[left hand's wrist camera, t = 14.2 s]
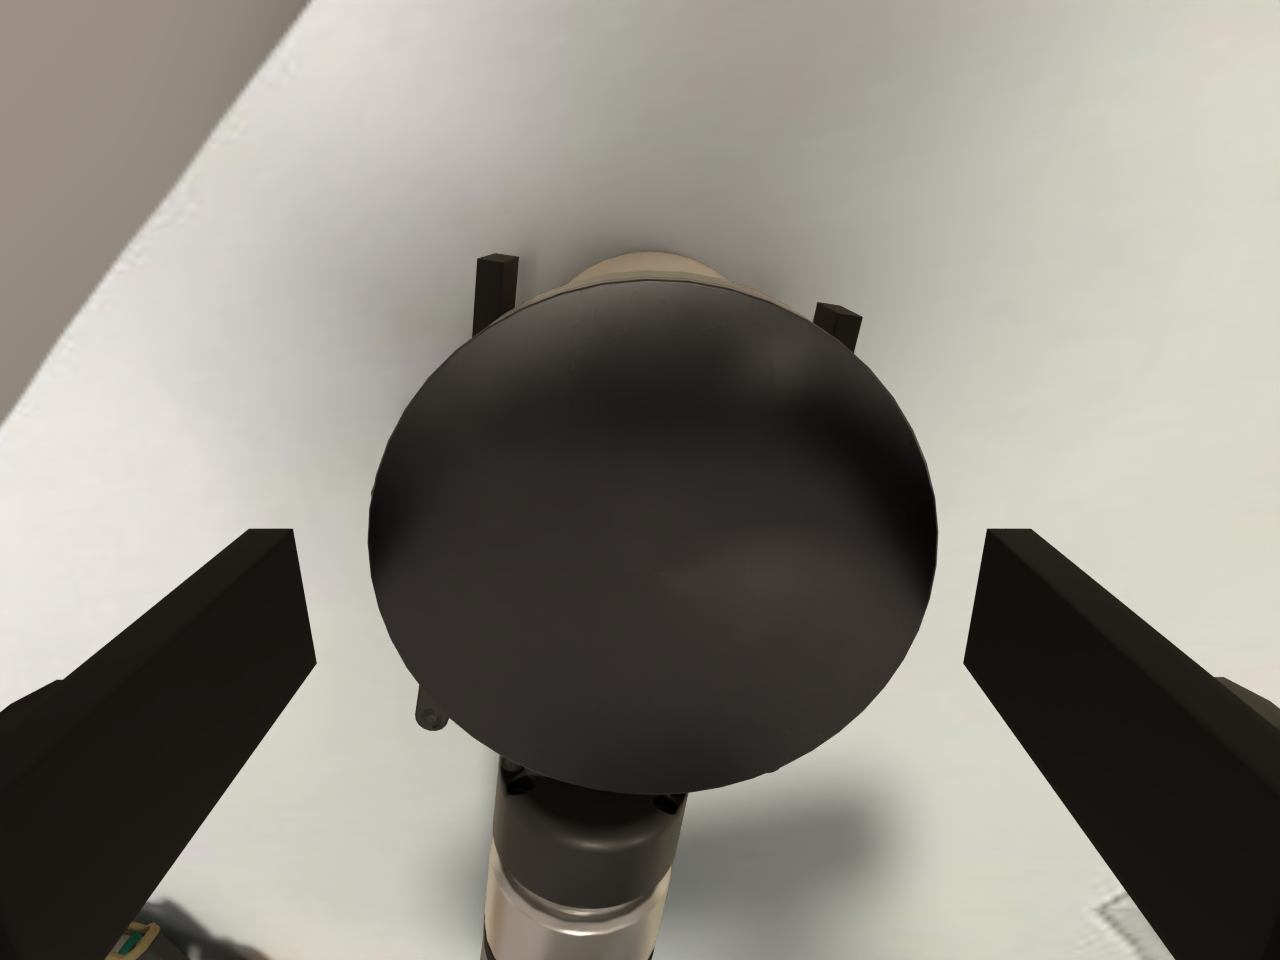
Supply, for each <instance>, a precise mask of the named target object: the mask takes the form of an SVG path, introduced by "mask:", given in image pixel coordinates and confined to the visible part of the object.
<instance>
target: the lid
mask: <svg viewBox="0 0 1280 960" xmlns="http://www.w3.org/2000/svg"><path fill="white" fill-rule="evenodd" d="M937 545H938V524H937V513H936V502H935V495H934V491H933V487H932V483H931V479H930V475H929V471H928V467H927V463H926V460H925V458H924V455H923V453H922V451H921V448H920V446H919V443H918V441H917V438H916V436H915V434H914V431H913V429H912V427H911V426H910V424H909V422H908V421H907V419H906V417H905V416H904V414H903V412H902V411H901V409H900V407H899V406H898V404H897V402H896V401H895V399H894V397H893V396H892V395H891V394H890V392H889V391H888V390H887V389H886V388H885V386H884V385H883V384H882V383H881V382H880V380H879V379H878V378H877V377H876V375H875V374H874V373H873V372H872V371H871V369H870V368H869V367H868V366H867V365H866V364H864V363H863V362H862V361H861V360H860V359H859V358H858V357H857V356H856V355H855V354H853V353H852V352H851V351H850V350H849V349H848V348H847V347H846V346H845V345H843V344H842V343H841V342H840V341H839V340H837V339H836V338H834V337H833V336H831V335H830V334H828V333H827V332H826V331H824V330H823V329H821V328H820V327H818V326H817V325H815V324H814V323H812V322H811V321H809V320H808V319H806V318H805V317H803V316H802V315H800V314H799V313H798V312H796V311H795V310H793V309H792V308H790V307H789V306H787V305H785V304H783V303H781V302H779V301H777V300H775V299H773V298H771V297H769V296H767V295H765V294H762V293H760V292H758V291H756V290H754V289H751V288H748V287H745V286H742V285H739V284H736V283H733V282H730V281H727V280H723V279H720V278H715V277H710V276H704V275H699V274H693V273H688V272H680V271H656V270H641V271H630V272H619V273H609V274H604V275H600V276H596V277H591V278H587V279H583V280H579V281H574V282H571V283H568V284H566V285H563V286H560V287H558V288H555V289H553V290H550V291H547V292H545V293H542V294H540V295H537V296H536V297H534V298H532V299H530V300H528V301H526V302H525V303H523V304H521V305H519V306H517V307H516V308H514V309H512V310H510V311H508V312H507V313H505V314H504V315H502V316H501V317H500V318H498V319H497V320H496V321H494V322H493V323H492V324H490V325H489V326H488V327H486V328H485V329H484V330H482V331H481V332H480V333H478V334H477V335H476V336H474V337H473V338H472V339H470V340H469V341H468V342H466V343H465V344H464V345H462V346H461V347H460V348H458V349H457V350H456V351H455V352H454V353H453V354H452V355H451V356H450V357H449V358H448V359H447V360H446V361H445V362H444V363H443V364H442V365H441V366H440V367H439V368H438V369H437V370H436V371H435V372H434V373H433V374H432V375H431V376H430V377H429V378H428V379H427V380H426V381H425V383H424V384H423V385H422V387H421V388H420V390H419V391H418V392H417V394H416V395H415V396H414V398H413V399H412V400H411V402H410V403H409V404H408V406H407V407H406V408H405V410H404V412H403V414H402V416H401V418H400V420H399V421H398V423H397V425H396V427H395V429H394V431H393V433H392V434H391V436H390V438H389V440H388V443H387V445H386V448H385V451H384V454H383V457H382V459H381V462H380V465H379V468H378V470H377V473H376V478H375V483H374V488H373V493H372V498H371V503H370V508H369V526H368V551H369V561H370V571H371V578H372V583H373V587H374V591H375V595H376V599H377V603H378V607H379V610H380V613H381V615H382V618H383V620H384V623H385V626H386V628H387V631H388V633H389V636H390V638H391V640H392V642H393V644H394V646H395V647H396V649H397V651H398V653H399V655H400V656H401V658H402V660H403V662H404V664H405V665H406V667H407V669H408V670H409V671H410V673H411V674H412V675H413V677H414V678H415V679H416V681H417V682H418V683H419V685H420V686H421V687H422V689H423V690H424V691H425V693H426V694H427V695H428V696H429V697H430V698H431V699H432V700H433V701H434V702H435V703H436V705H437V706H438V707H439V708H440V709H441V710H442V711H443V712H444V713H445V714H446V715H447V716H448V717H449V718H450V719H451V720H453V721H454V722H455V723H456V724H458V725H459V726H460V727H461V728H462V729H464V730H465V731H466V732H467V733H468V734H470V735H471V736H472V737H473V738H475V739H476V740H478V741H479V742H481V743H483V744H484V745H486V746H487V747H489V748H490V749H492V750H493V751H495V752H496V753H498V754H500V755H501V756H503V757H505V758H507V759H509V760H511V761H513V762H515V763H517V764H519V765H521V766H523V767H525V768H527V769H529V770H532V771H535V772H537V773H540V774H543V775H545V776H548V777H551V778H554V779H556V780H559V781H562V782H566V783H570V784H574V785H578V786H582V787H586V788H590V789H596V790H603V791H610V792H617V793H624V794H650V795H661V794H676V793H690V792H696V791H702V790H708V789H714V788H719V787H724V786H727V785H731V784H734V783H738V782H742V781H745V780H749V779H752V778H755V777H757V776H760V775H762V774H765V773H767V772H770V771H772V770H775V769H777V768H780V767H782V766H784V765H786V764H788V763H790V762H792V761H794V760H796V759H798V758H799V757H801V756H803V755H805V754H807V753H809V752H811V751H812V750H814V749H815V748H817V747H818V746H820V745H821V744H823V743H824V742H825V741H827V740H828V739H830V738H831V737H833V736H834V735H836V734H837V733H839V732H840V731H841V730H842V729H843V728H844V727H845V726H847V725H848V724H849V723H850V722H851V721H852V720H853V719H855V718H856V717H857V716H858V715H859V714H860V713H861V712H863V711H864V710H865V708H866V707H867V706H868V705H869V704H870V703H871V702H872V701H873V699H874V698H875V697H876V696H877V695H878V694H879V693H880V692H881V691H882V689H883V688H884V687H885V686H886V684H887V683H888V682H889V680H890V679H891V677H892V676H893V674H894V673H895V671H896V670H897V669H898V667H899V666H900V664H901V663H902V661H903V660H904V658H905V656H906V654H907V652H908V650H909V648H910V646H911V644H912V642H913V640H914V639H915V637H916V635H917V633H918V631H919V628H920V625H921V622H922V620H923V617H924V614H925V611H926V608H927V605H928V603H929V600H930V595H931V590H932V585H933V580H934V575H935V570H936V563H937Z"/></svg>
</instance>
